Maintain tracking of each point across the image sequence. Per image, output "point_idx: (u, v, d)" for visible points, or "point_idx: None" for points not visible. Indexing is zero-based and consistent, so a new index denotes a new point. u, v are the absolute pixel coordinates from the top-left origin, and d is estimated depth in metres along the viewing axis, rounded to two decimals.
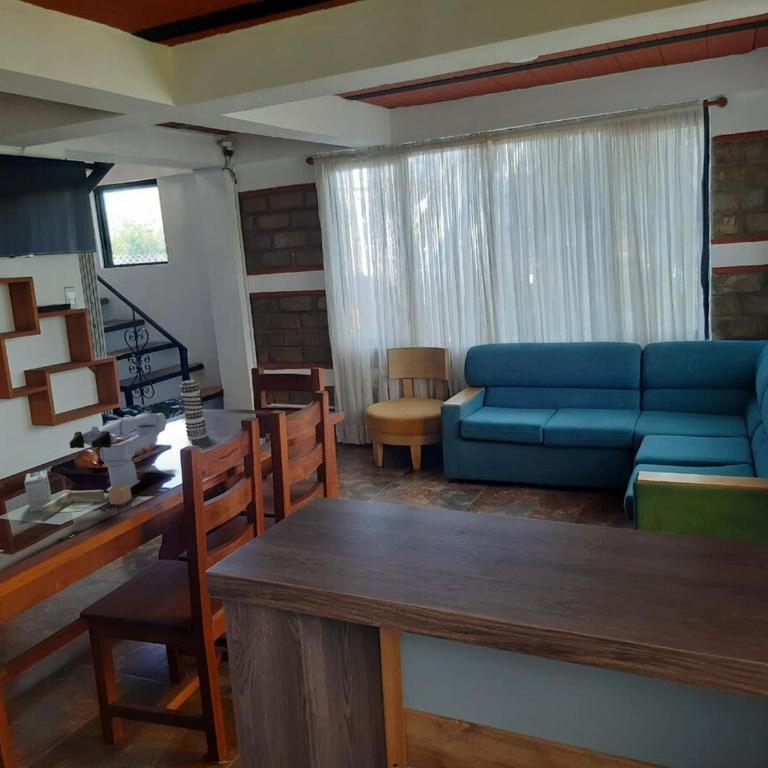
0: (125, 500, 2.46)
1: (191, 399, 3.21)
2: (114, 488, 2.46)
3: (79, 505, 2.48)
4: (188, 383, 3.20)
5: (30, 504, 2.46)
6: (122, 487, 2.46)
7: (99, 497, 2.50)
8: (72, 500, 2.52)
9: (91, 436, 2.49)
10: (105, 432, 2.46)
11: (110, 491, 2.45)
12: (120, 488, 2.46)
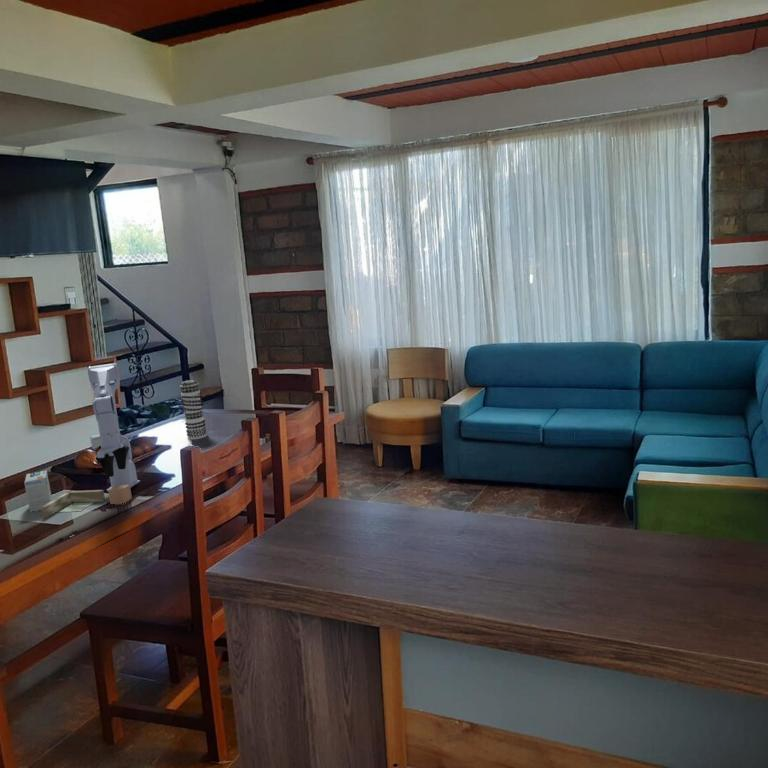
0: (125, 500, 2.46)
1: (191, 399, 3.21)
2: (114, 488, 2.46)
3: (79, 505, 2.48)
4: (188, 383, 3.20)
5: (30, 504, 2.46)
6: (122, 487, 2.46)
7: (99, 497, 2.50)
8: (72, 500, 2.52)
9: None
10: (127, 449, 2.49)
11: (110, 491, 2.45)
12: (120, 488, 2.46)
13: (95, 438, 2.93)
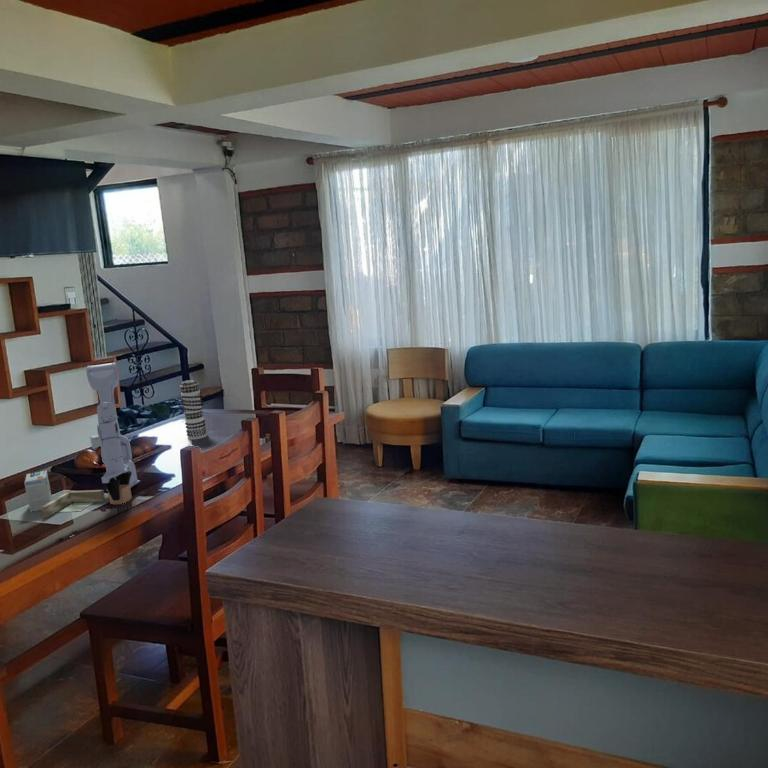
0: (125, 500, 2.46)
1: (191, 399, 3.21)
2: None
3: (79, 505, 2.48)
4: (188, 383, 3.20)
5: (30, 504, 2.46)
6: (122, 487, 2.46)
7: (99, 497, 2.50)
8: (72, 500, 2.52)
9: None
10: (130, 474, 2.50)
11: None
12: (120, 487, 2.46)
13: (95, 438, 2.93)
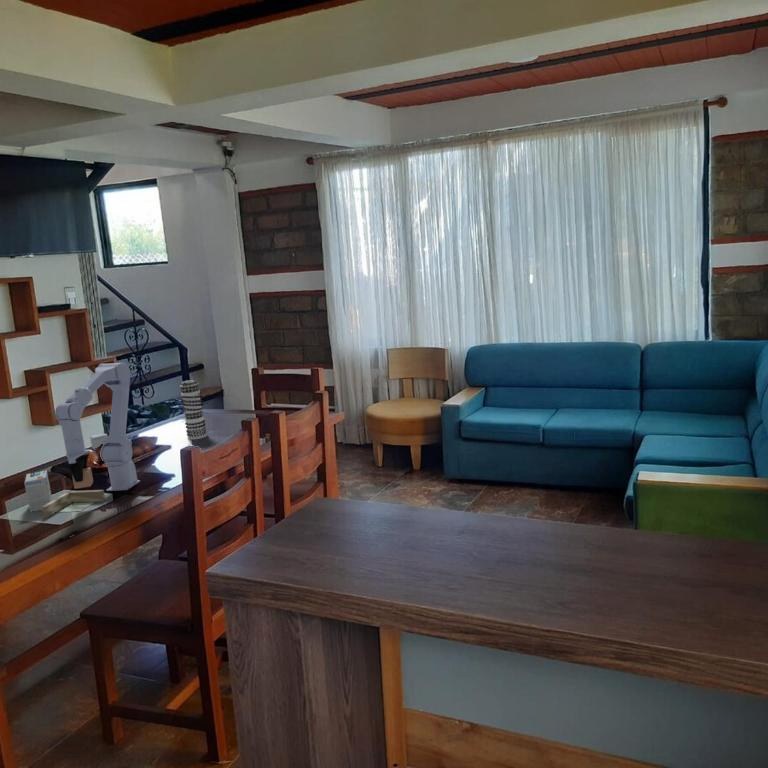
0: (90, 483, 2.44)
1: (191, 399, 3.21)
2: None
3: (79, 505, 2.48)
4: (188, 383, 3.20)
5: (30, 504, 2.46)
6: (85, 470, 2.45)
7: (99, 497, 2.50)
8: (72, 500, 2.52)
9: None
10: None
11: None
12: (84, 470, 2.44)
13: (95, 438, 2.93)
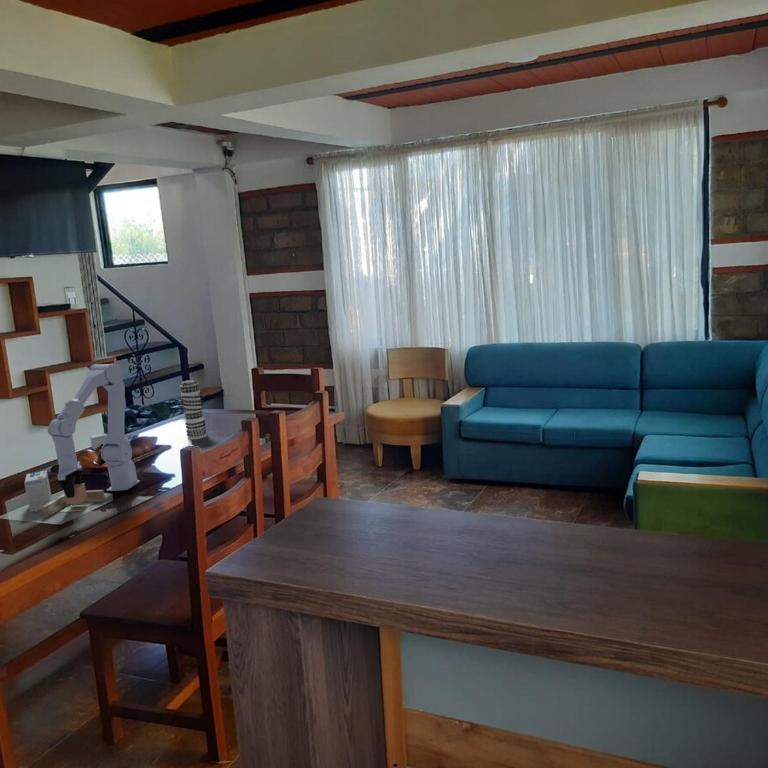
0: (82, 499, 2.45)
1: (191, 399, 3.21)
2: None
3: (79, 505, 2.48)
4: (188, 383, 3.20)
5: (30, 504, 2.46)
6: (78, 486, 2.45)
7: (99, 497, 2.50)
8: None
9: None
10: (82, 472, 2.48)
11: None
12: (76, 486, 2.44)
13: (95, 438, 2.93)
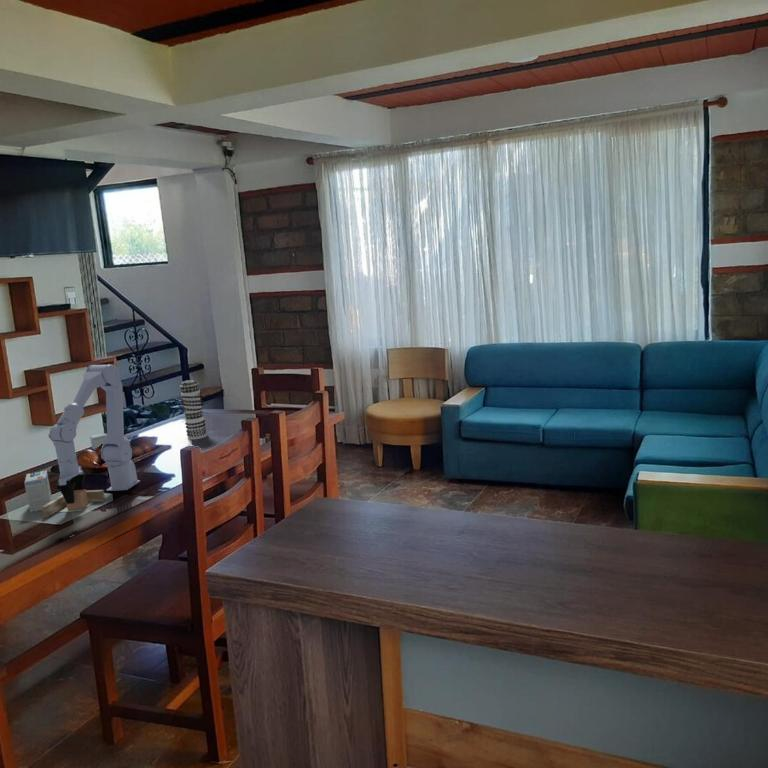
0: (83, 505, 2.45)
1: (191, 399, 3.21)
2: None
3: None
4: (188, 383, 3.20)
5: (30, 504, 2.46)
6: (79, 492, 2.45)
7: (99, 497, 2.50)
8: None
9: None
10: (84, 475, 2.50)
11: None
12: (77, 492, 2.45)
13: (95, 438, 2.93)
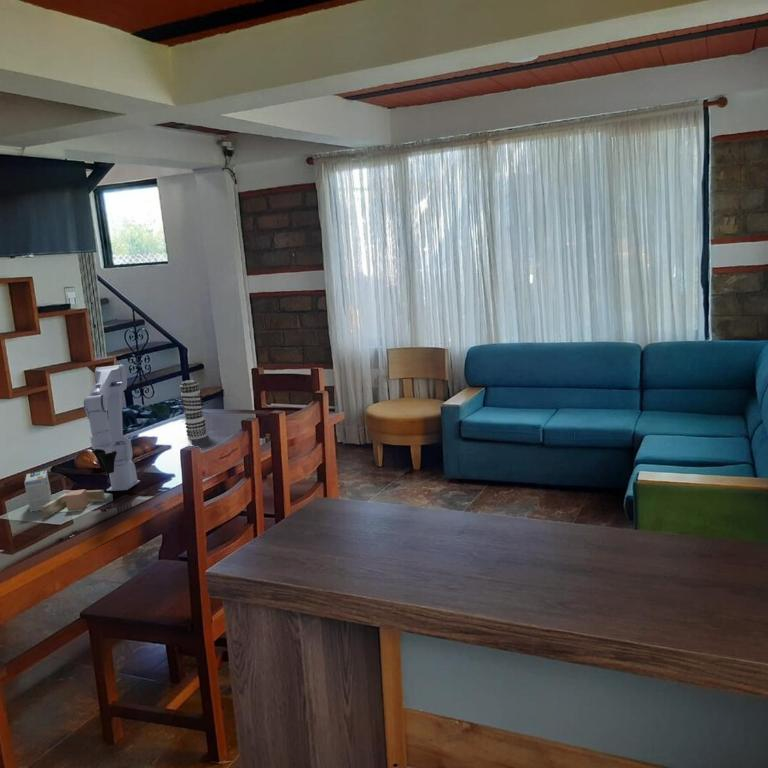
0: (83, 505, 2.45)
1: (191, 399, 3.21)
2: (71, 493, 2.45)
3: None
4: (188, 383, 3.20)
5: (30, 504, 2.46)
6: (79, 492, 2.45)
7: (99, 497, 2.50)
8: None
9: None
10: None
11: (67, 496, 2.43)
12: (77, 492, 2.45)
13: None
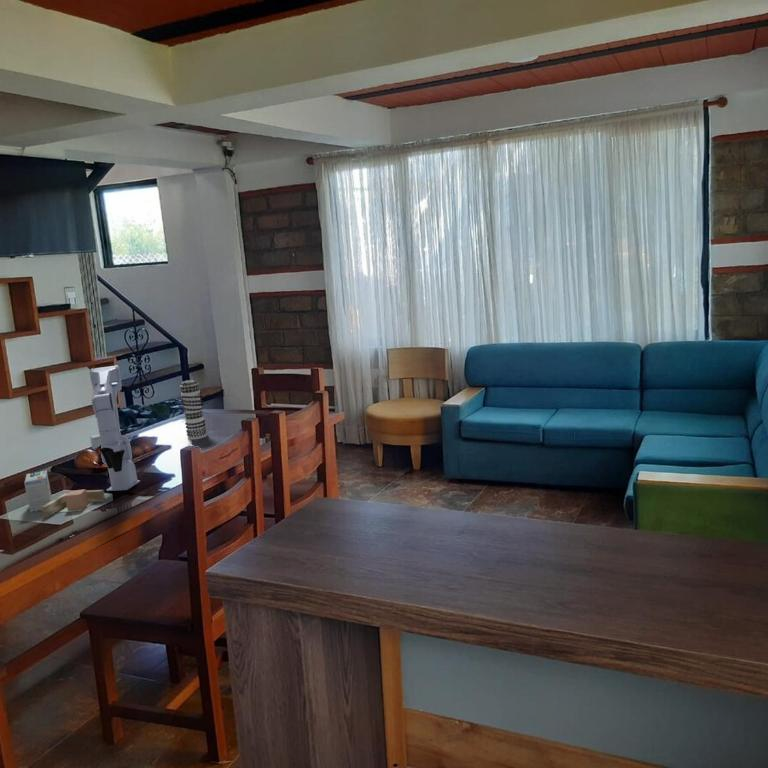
0: (83, 505, 2.45)
1: (191, 399, 3.21)
2: (71, 493, 2.45)
3: None
4: (188, 383, 3.20)
5: (30, 504, 2.46)
6: (79, 492, 2.45)
7: (99, 497, 2.50)
8: None
9: None
10: None
11: (67, 496, 2.43)
12: (77, 492, 2.45)
13: (95, 438, 2.93)
